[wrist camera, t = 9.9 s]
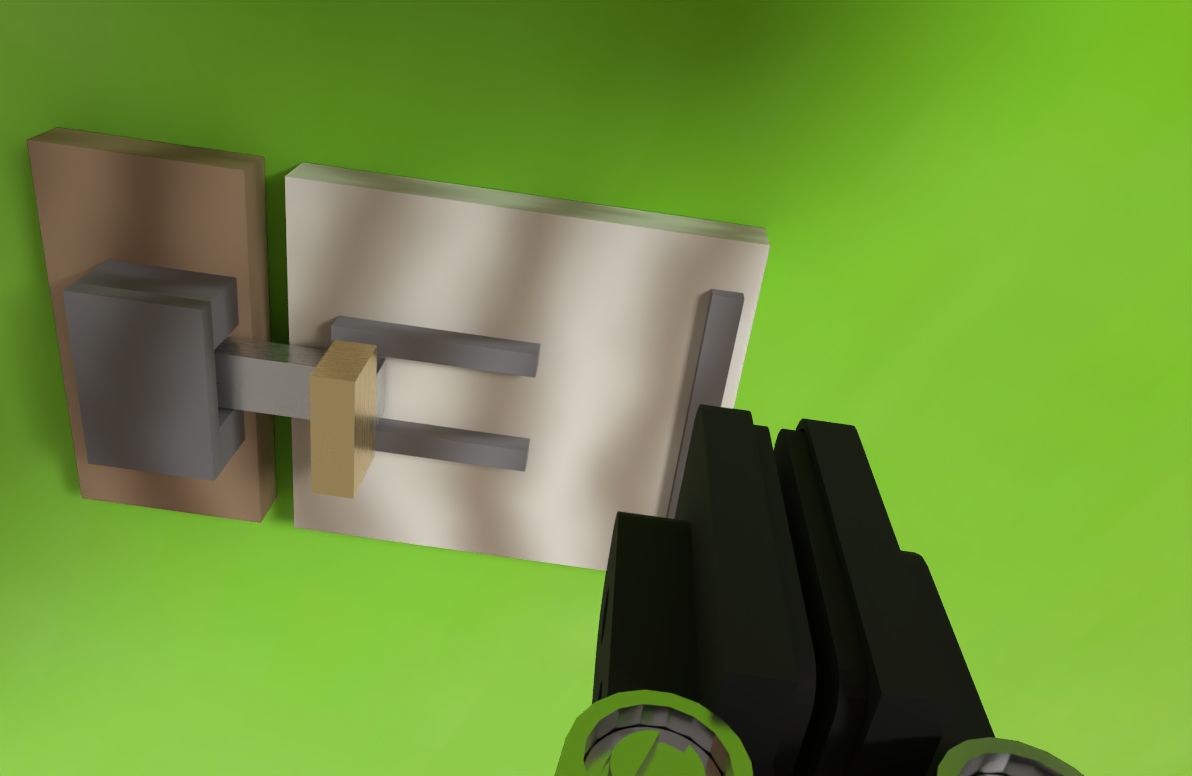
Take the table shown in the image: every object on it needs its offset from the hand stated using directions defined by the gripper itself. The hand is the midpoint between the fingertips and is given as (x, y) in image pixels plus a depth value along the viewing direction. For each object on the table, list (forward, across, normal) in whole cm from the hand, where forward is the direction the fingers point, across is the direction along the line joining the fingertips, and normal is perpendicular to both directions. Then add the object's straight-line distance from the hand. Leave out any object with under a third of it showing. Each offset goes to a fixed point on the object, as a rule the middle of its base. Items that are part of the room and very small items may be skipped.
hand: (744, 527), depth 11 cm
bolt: (+25, +15, +13) cm, 32 cm away
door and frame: (+27, +10, +13) cm, 32 cm away
